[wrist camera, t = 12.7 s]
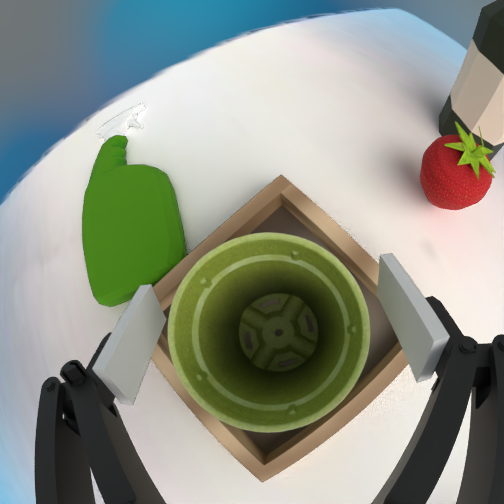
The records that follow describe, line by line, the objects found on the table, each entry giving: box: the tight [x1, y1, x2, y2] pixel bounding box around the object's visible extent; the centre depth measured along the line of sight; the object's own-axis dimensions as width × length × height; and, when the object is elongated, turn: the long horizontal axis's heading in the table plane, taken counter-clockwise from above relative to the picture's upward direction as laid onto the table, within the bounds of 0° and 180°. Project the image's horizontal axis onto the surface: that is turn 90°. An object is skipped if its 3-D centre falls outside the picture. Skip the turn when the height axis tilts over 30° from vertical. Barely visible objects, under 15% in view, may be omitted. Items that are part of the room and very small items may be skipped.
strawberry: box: [420, 121, 496, 210], centre depth 16 cm, size 6×8×10 cm
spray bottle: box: [82, 103, 187, 307], centre depth 26 cm, size 3×11×24 cm
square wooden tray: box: [151, 175, 409, 482], centre depth 19 cm, size 17×17×2 cm
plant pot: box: [168, 232, 370, 433], centre depth 16 cm, size 9×9×9 cm
